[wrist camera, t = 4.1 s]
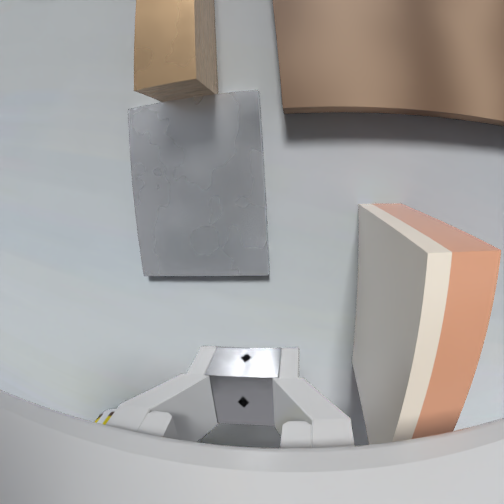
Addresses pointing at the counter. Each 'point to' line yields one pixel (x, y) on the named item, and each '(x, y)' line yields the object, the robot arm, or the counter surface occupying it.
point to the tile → (418, 320)
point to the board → (393, 57)
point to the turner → (194, 151)
